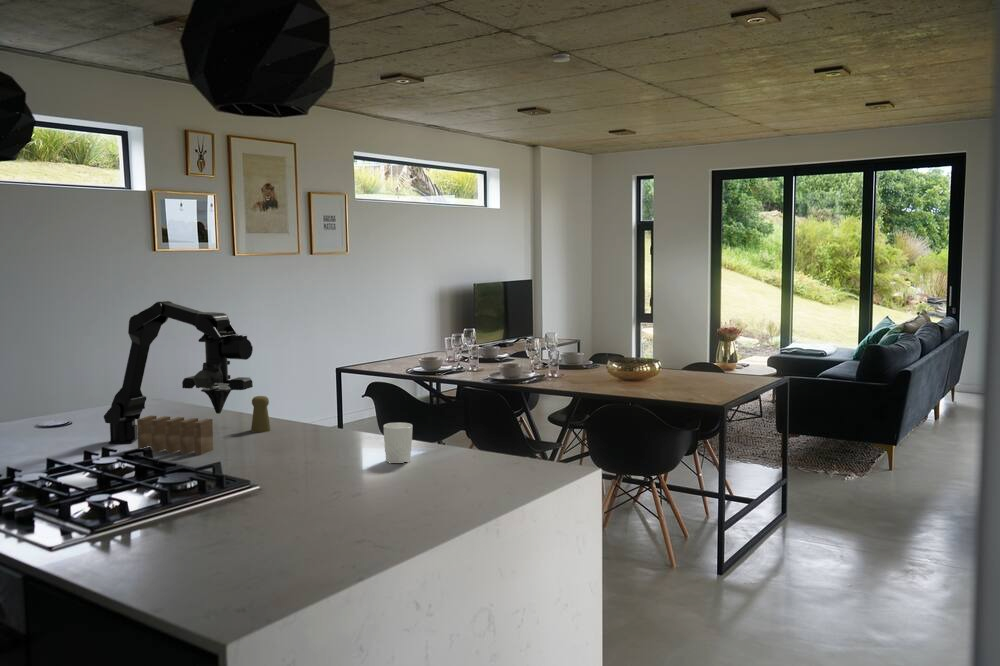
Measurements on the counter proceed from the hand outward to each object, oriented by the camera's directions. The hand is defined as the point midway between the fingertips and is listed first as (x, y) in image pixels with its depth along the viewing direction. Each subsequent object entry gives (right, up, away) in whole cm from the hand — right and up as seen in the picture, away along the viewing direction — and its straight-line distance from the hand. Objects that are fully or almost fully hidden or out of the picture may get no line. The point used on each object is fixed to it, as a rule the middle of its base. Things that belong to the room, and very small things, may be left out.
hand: (218, 413), depth 225 cm
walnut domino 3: (-14, -11, +4) cm, 18 cm away
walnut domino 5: (-5, -11, +2) cm, 12 cm away
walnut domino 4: (-9, -11, +3) cm, 15 cm away
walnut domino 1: (-22, -11, +6) cm, 26 cm away
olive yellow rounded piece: (+3, -9, +31) cm, 32 cm away
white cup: (+51, -13, -5) cm, 53 cm away
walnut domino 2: (-18, -11, +5) cm, 22 cm away
